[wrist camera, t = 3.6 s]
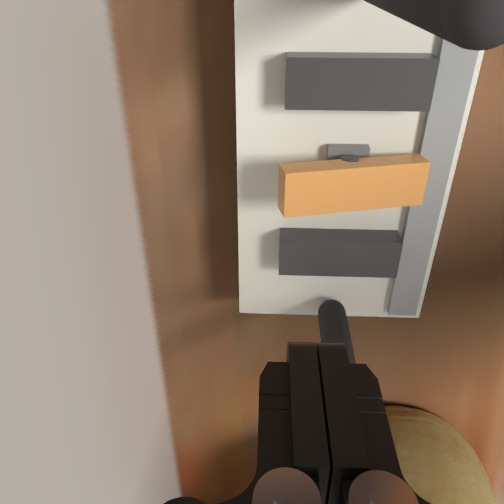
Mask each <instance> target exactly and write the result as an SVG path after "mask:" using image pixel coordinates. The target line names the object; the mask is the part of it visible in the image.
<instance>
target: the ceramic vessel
mask: <svg viewBox="0 0 504 504" xmlns="http://www.w3.org/2000/svg"><path fill="white" fill-rule="evenodd" d="M385 410H386V415H387V418H388V422H389V426H390V430H391V434H392V438H393V441H394V445H395V449H396V453H397V457H398V461H399V465H400V469H401V472H402V475H403V477H404V479H405V480H406V482H407V483H408V485H409V486H410V487H411V488H412V490H413V491H414V492H415V493H416V494H418V495H419V496H420V497H421V498H423V499H424V500H426V501H427V502H429V503H431V504H497V502H496V499H495V496H494V493H493V490H492V487H491V485H490V482H489V479H488V476H487V474H486V472H485V470H484V468H483V466H482V464H481V462H480V460H479V458H478V456H477V454H476V452H475V451H474V449H473V448H472V446H471V445H470V443H469V442H468V440H467V439H466V438H465V437H464V436H463V435H462V434H461V433H460V432H459V431H458V430H457V429H456V428H455V427H454V426H452V425H451V424H450V423H448V422H447V421H446V420H444V419H442V418H440V417H438V416H436V415H434V414H431V413H429V412H426V411H423V410H421V409H415V408H409V407H403V406H385Z"/></svg>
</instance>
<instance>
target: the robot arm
mask: <svg viewBox="0 0 504 504" xmlns="http://www.w3.org/2000/svg"><path fill="white" fill-rule="evenodd" d="M164 504H205V503H203V502H202V501H200V500H198V499H195V498H192V497H179V498H175V499H172V500H169V501H167V502H166V503H164ZM219 504H431V503H429V502H427V501H426V500H424V499H423V498H421V497H420V496H419V495H418V494H416V493H415V492H414V491H413V490H412V488H411V487H410V486H409V485H408V483H407V482H406V480H405V479H404V477H403V475H402V472H401V469H400V465H399V461H398V457H397V453H396V449H395V445H394V441H393V438H392V434H391V430H390V426H389V422H388V418H387V415H386V410H385V406H384V402H383V400H382V394H381V390H380V387H379V383H378V379H377V378H376V377H375V375H374V374H373V373H372V371H371V370H370V369H369V368H368V366H367V365H366V364H349V359H348V353H347V348H346V345H345V343H317V344H315V343H304V342H288V345H287V362H268V363H267V365H266V366H265V368H264V370H263V372H262V374H261V375H260V385H259V422H258V460H257V471H256V475H255V477H254V479H253V481H252V483H251V484H250V486H249V487H248V488H247V489H246V490H245V491H244V492H243V493H242V494H240V495H239V496H237V497H235V498H233V499H231V500H228V501H225V502H222V503H219Z"/></svg>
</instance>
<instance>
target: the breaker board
mask: <svg viewBox="0 0 504 504" xmlns="http://www.w3.org/2000/svg"><path fill="white" fill-rule="evenodd" d="M234 20H235V79H236V137H237V196H238V255H239V313H262V314H297V315H318V309H319V307H320V305H321V304H322V303H323V302H324V301H326V300H331V299H333V300H337V301H339V302H340V303H341V304H342V305H343V306H344V308H345V311H346V316H368V317H403V318H419V316H420V311H421V307H422V303H423V299H424V295H425V291H426V287H427V283H428V279H429V275H430V271H431V267H432V262H433V258H434V254H435V250H436V246H437V242H438V238H439V234H440V230H441V226H442V222H443V218H444V214H445V209H446V205H447V201H448V197H449V193H450V189H451V185H452V181H453V177H454V173H455V169H456V165H457V160H458V156H459V152H460V148H461V144H462V140H463V136H464V132H465V128H466V124H467V120H468V116H469V111H470V107H471V103H472V99H473V95H474V91H475V87H476V83H477V79H478V75H479V71H480V67H481V63H482V58H483V54H484V50H480V51H476V50H468V49H463V48H461V47H458V46H456V45H454V44H452V43H450V42H448V41H446V40H444V39H442V38H440V37H438V36H436V35H434V34H432V33H430V32H427V31H425V30H423V29H421V28H419V27H417V26H415V25H413V24H411V23H409V22H407V21H405V20H403V19H401V18H399V17H397V16H394V15H392V14H390V13H388V12H386V11H384V10H382V9H380V8H378V7H376V6H374V5H372V4H370V3H368V2H366V1H363V0H234ZM415 153H419V154H420V155H421V156H423V157H424V158H426V159H427V160H429V161H430V162H431V165H430V169H429V174H428V179H427V183H426V188H425V193H424V197H423V202H422V205H413V206H403V207H393V208H382V209H372V210H361V211H351V212H340V213H330V214H320V215H309V216H299V217H288V218H284V217H283V215H282V214H281V212H280V210H279V208H278V178H279V164H283V163H296V162H309V161H323V160H336V159H340V157H341V156H342V155H356V156H359V157H360V158H362V157H375V156H389V155H402V154H415Z"/></svg>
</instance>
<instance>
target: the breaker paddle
mask: <svg viewBox="0 0 504 504" xmlns="http://www.w3.org/2000/svg"><path fill="white" fill-rule="evenodd" d="M430 165H431V162H430V161H429V160H427V159H426V158H424V157H423V156H421V155H420V154H419V153H415V154H402V155H389V156H375V157H362V158H360V157H359V156H356V155H342V156H341V157H340V159H336V160H323V161H309V162H296V163H283V164H279V178H278V208H279V210H280V212H281V214H282V215H283V217H284V218H288V217H299V216H309V215H320V214H330V213H340V212H351V211H361V210H372V209H382V208H393V207H403V206H413V205H422V202H423V197H424V193H425V188H426V183H427V179H428V174H429V169H430Z"/></svg>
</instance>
